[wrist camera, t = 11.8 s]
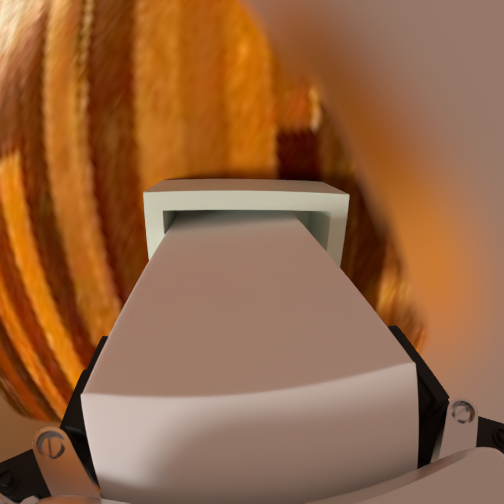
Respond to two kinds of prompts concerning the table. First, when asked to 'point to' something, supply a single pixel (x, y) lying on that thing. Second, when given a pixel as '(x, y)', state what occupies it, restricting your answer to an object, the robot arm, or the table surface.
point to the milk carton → (248, 373)
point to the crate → (250, 205)
